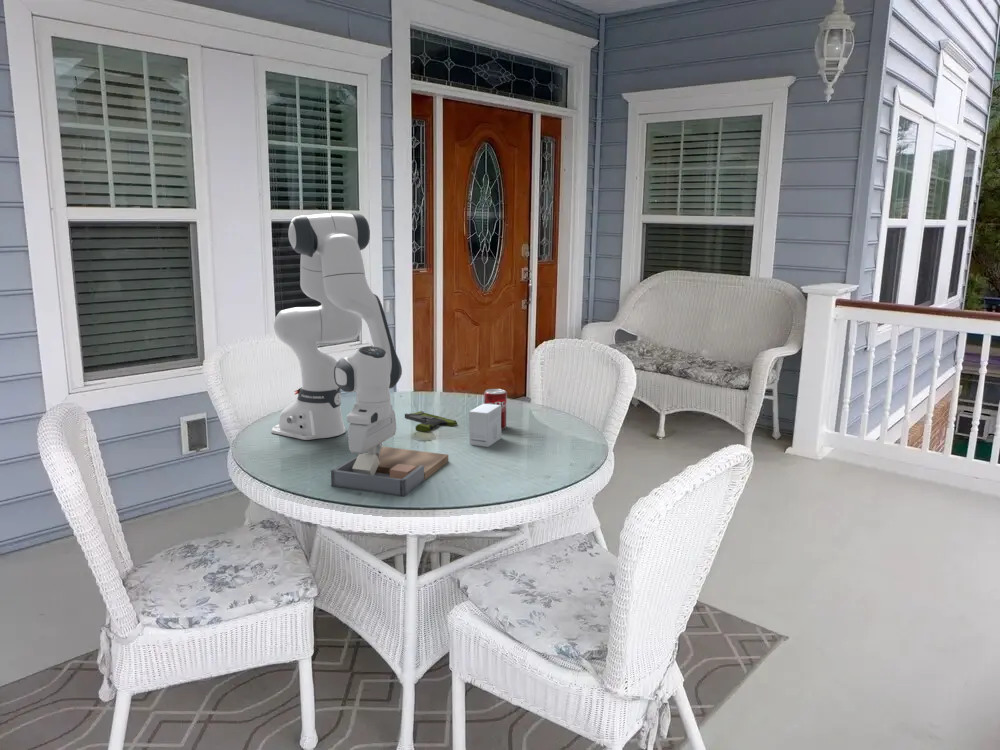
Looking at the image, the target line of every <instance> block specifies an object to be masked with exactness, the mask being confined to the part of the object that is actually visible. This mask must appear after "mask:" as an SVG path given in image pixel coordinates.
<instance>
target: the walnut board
mask: <svg viewBox="0 0 1000 750" xmlns="http://www.w3.org/2000/svg"><path fill="white" fill-rule="evenodd" d="M379 461H380V463H379V465H378V468H377V470H376V472H377V473H385V474H390V469H391V468H393V467H394V466H396V465H397V464H404V465H412V466H416V468H418V467H419V466H420V465H421V466H424V481H426V480H427V479H428V478H430V477H431V476H432V475H434V473H436V472H437V471H438V470H440V469H441V468H442V467H443V466H445V465H446V464H447V463H449V454H446V453H439V452H438V453H437V452H431V451H430V452H429V451H423V450H422V451H421V450H415V449H413V450H412V449H405V448H399V447H398V448H396V447H388V446H382V447H381V451H380V459H379Z"/></svg>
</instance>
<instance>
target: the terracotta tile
mask: <svg viewBox="0 0 1000 750" xmlns="http://www.w3.org/2000/svg"><path fill="white" fill-rule="evenodd" d="M415 469H416V466H412V465H404V464H397V465H396V466H394V467H393V468H391V469H390V477H391V478H398V479H403V478H404V477H405V476H407V475H408V474H409V473H411V472H412V471H413V470H415Z"/></svg>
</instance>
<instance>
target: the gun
mask: <svg viewBox="0 0 1000 750" xmlns="http://www.w3.org/2000/svg"><path fill="white" fill-rule="evenodd" d="M404 419H406V420H410V421H414V422H418V424H416V426H415V431H416V432H417V431H418V432H422V433H429V432H430V431H433V430H435V429H436V428H438V427H439V426H448V427H455V426H456V425H458V421H457V420H455V419H452V418H446V417H442V416H439V415H434V414H430V413H426V412H424V411H423V410H420V411H417V412H413V413H404Z"/></svg>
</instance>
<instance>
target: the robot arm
mask: <svg viewBox="0 0 1000 750" xmlns="http://www.w3.org/2000/svg"><path fill="white" fill-rule="evenodd" d="M370 238H371V230H370V225H369V221H368V220H367V218H365V216H364V215H363V214H360V213H354V212H350V213H347V212H346V213H345V212H327V213H315V214H310V215H307V214H302V215H298V216H295V217H293V218H292V219H291V221H290V222H289V226H288V240H289V243H290V245H291V248H292V250H294V251H295V252H296V253H297V254H299V255H300V262H299V263H300V265H299V268H300V269H299V271H300V272H299V273H300V275H299V276H300V277H299V279H300V280H299V282H300V283H299V285H300V290H301V291H302V293H303V294H305V295H306V297H308V298H310V299H312V300H315V301H317V302H319V303H320V305H317V306H296V307H290V308H286V309H282V310H280V311H279V312H278V313H277V315H276V316H275V318H274V322H273V328H274V332H275V335H276V336H277V338H278V339H279V341H281V342H282V343H283V344H285V345H287V347H289V348H290V349H291V350H292V352H293V353H294V354H295V356H296V357H297V360H298V362H299V363H298V364H299V368H300V373H301V387H299V388H298V389H296V390H294V392H295V393H294V395H297V398H296V399H295V400H294V401H293V402H292V403H290V404H289V405H288V406H286V408H284V409H283V410H282V411H281V412H280V414H279V418H278V419H279V421H278V424H276V425H274V426H273V427H272V429H271V433H272V434H275V435H280V436H285V437H290V438H293V439H294V438H295V439H298V440H304V441H310V440H316V439H326V438H334V437H337V436H341V435H343V434H344V433H346V427H345V424H344V420H343V415H342V410H341V404H342V403H341V402H342V391H343V392H345V393H347V392H348V393H355V394H356V398H355V404H354V405H353V408H352V409H351V411H349V413H348V414H347V416H346V422H347V423H348V424H349V425H348V430H347V431H348V432H347V435H348V437H347V438H348V449H349V451H350V452H351V453H352V454H355V455H359V454H371V455H377V457H378V459H380V451H381V448H382V447H383V442H385V441H386V440H387V441H388V440H389V439H391V438H392V437H394V436H395V435H396V432H397V419H396V412H395V410H394V409H393V405H392V404H391V394H390V389H392V388H394V387H395V386H396V385H397V384H398V382H400V379H401V377H402V375H403V369H402V365H401V364H402V363H401V361H400V358H399V357H398V354H397V352H396V350H395V347H394V343H393V339H392V335H391V332H390V328H389V325H388V322H387V321H388V320H387V318H386V314H385V311H384V308H383V305H382V303H381V299H380V297H379V296H378V295H377V294H375V293H374V292H373V291H372V290H371V287H370V286H369V284H368V282H367V281H368V280H367V279H366V272H365V264H364V260H363V255H362V253H361V251H363V250H364V249H366V248H367V246H368V245H369V243H370ZM362 319H363V320H364V322H365V323H366V324H367V327H368V331H369V334H370V337H371V341H372V344H373V346H370V345H368V346H363V347H360V348H358V349H357V350H356V352H355V353H354V354H351V355H348V356H344V357H340V359H339V360H338V361H337V359H336V358H335V357H333V356H331V355H329V354H327V353H325V352H322V351H320V350H319V348H318V344H324V343H326V344H327V343H329V344H330V343H343V342H347V341H352V340H355V339H357V338H358V336H360V334H361V331H362V329H363V320H362Z"/></svg>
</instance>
